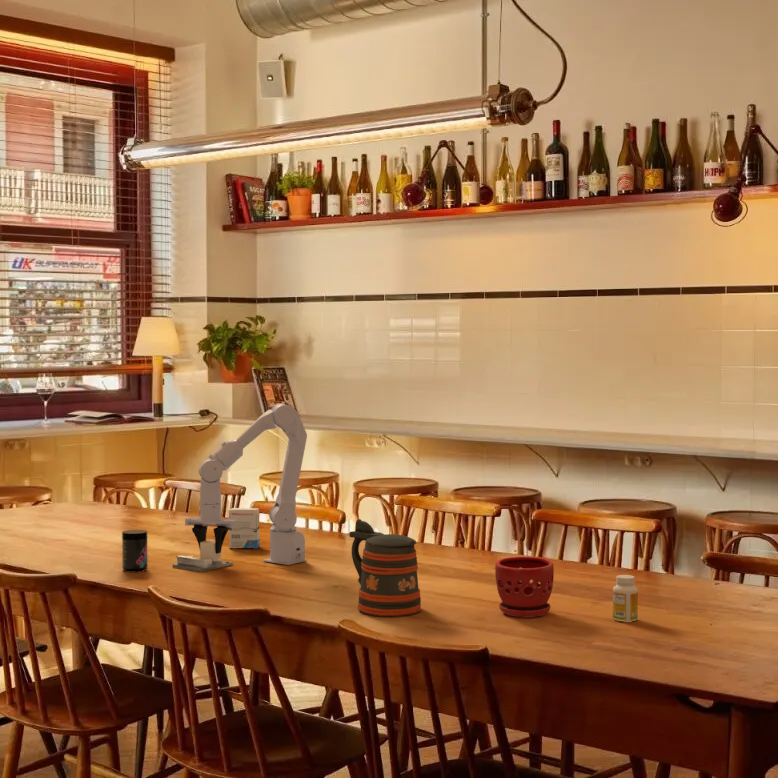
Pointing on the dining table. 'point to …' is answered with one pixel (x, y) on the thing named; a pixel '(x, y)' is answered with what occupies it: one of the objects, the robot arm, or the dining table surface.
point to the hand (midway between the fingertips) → (210, 552)
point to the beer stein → (386, 572)
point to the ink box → (244, 528)
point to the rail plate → (199, 563)
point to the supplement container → (134, 550)
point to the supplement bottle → (625, 598)
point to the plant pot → (524, 585)
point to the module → (209, 550)
